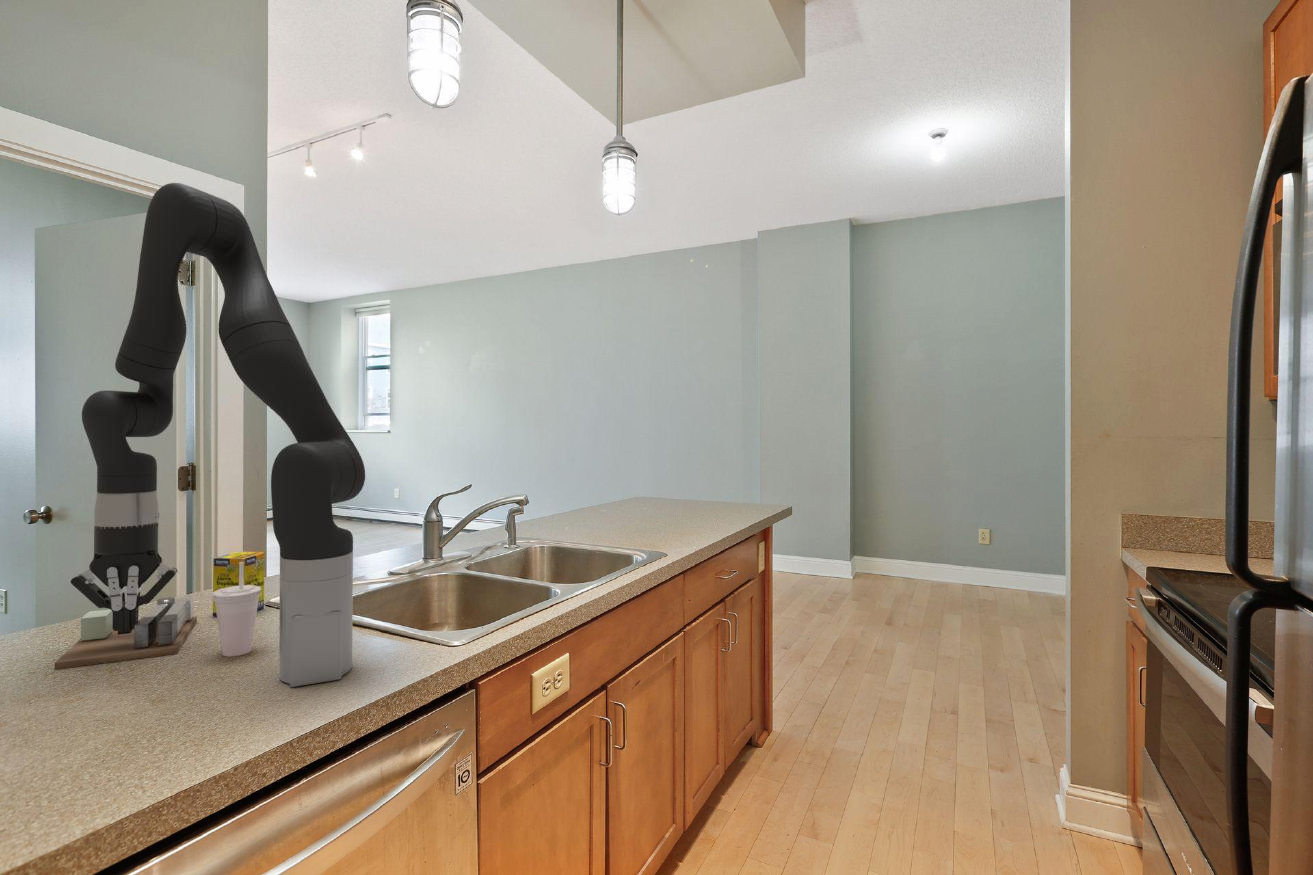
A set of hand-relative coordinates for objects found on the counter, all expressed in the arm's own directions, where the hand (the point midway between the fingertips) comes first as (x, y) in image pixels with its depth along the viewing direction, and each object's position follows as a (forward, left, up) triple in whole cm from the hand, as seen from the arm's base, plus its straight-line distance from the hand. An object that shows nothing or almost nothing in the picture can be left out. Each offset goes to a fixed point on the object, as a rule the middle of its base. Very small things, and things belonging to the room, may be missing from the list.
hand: (125, 632), depth 95 cm
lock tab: (+7, +5, -2) cm, 8 cm away
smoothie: (-7, -15, -3) cm, 17 cm away
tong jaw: (+3, -3, -2) cm, 4 cm away
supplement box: (+16, -13, -3) cm, 21 cm away
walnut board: (+4, 0, -3) cm, 5 cm away
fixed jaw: (+4, -4, -2) cm, 6 cm away
